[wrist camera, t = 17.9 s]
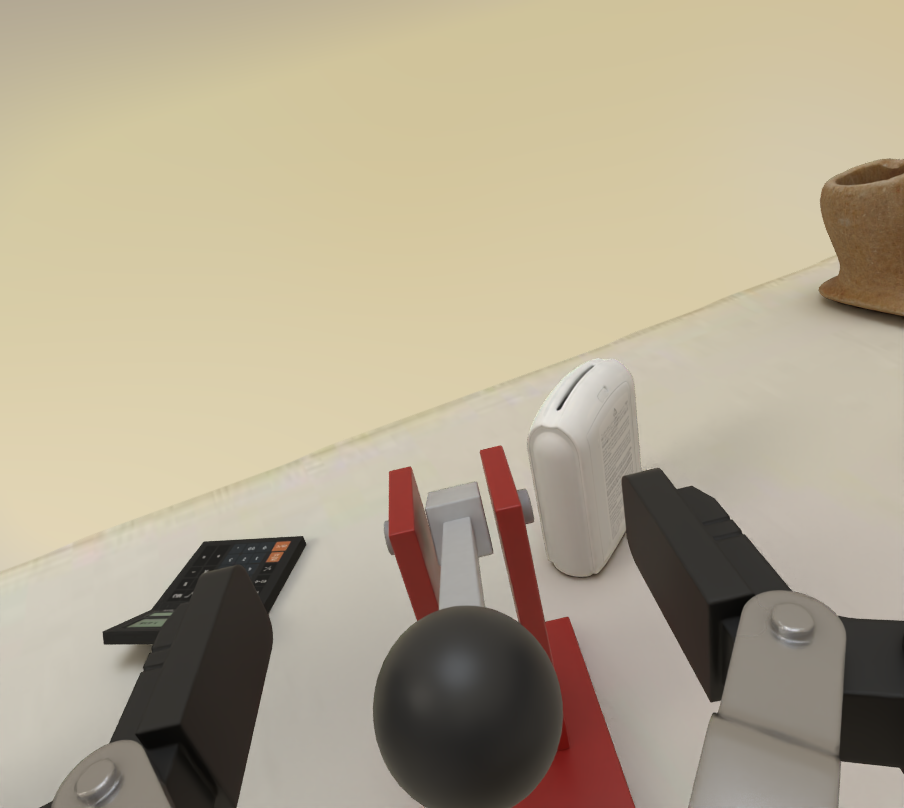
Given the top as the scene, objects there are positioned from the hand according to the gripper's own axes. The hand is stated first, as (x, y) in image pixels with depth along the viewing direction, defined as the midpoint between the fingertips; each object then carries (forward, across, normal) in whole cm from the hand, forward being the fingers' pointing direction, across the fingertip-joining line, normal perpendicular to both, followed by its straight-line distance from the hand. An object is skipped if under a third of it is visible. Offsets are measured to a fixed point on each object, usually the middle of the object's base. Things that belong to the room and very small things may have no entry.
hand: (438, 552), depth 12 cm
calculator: (+25, +20, +21) cm, 38 cm away
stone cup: (+47, -48, +21) cm, 70 cm away
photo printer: (+23, -9, +21) cm, 33 cm away
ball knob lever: (+3, 0, +6) cm, 7 cm away
